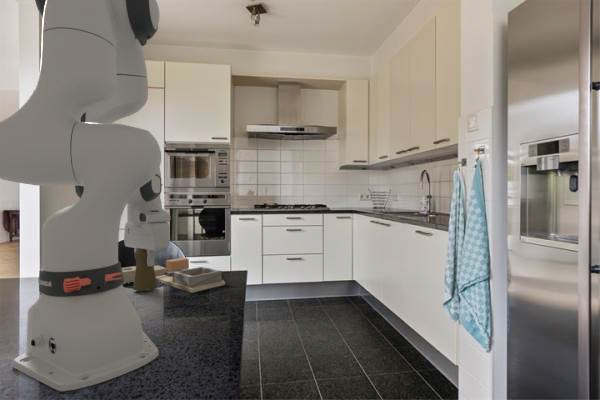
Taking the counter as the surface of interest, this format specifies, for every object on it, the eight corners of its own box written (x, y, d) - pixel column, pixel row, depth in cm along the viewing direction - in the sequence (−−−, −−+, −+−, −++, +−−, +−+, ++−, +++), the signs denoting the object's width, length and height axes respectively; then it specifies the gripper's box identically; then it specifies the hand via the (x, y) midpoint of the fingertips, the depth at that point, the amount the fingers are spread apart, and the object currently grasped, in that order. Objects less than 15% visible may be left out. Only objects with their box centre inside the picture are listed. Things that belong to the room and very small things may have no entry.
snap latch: (188, 268, 108) (188, 258, 108) (171, 271, 103) (171, 261, 103) (183, 266, 110) (183, 257, 110) (166, 270, 106) (165, 260, 106)
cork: (132, 291, 90) (131, 250, 90) (133, 286, 96) (133, 247, 96) (156, 288, 93) (156, 248, 93) (157, 284, 98) (156, 246, 98)
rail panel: (225, 284, 100) (224, 271, 100) (191, 292, 92) (191, 278, 92) (184, 274, 114) (184, 262, 114) (153, 280, 106) (152, 267, 106)
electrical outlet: (166, 265, 111) (105, 274, 98) (166, 277, 111) (105, 288, 98) (157, 262, 116) (98, 271, 103) (158, 274, 116) (98, 284, 103)
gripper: (117, 215, 99) (118, 262, 99) (150, 216, 86) (151, 270, 85) (139, 214, 104) (140, 260, 103) (173, 215, 90) (174, 266, 90)
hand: (145, 264), depth 94 cm, fingers closed on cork, 4 cm apart
